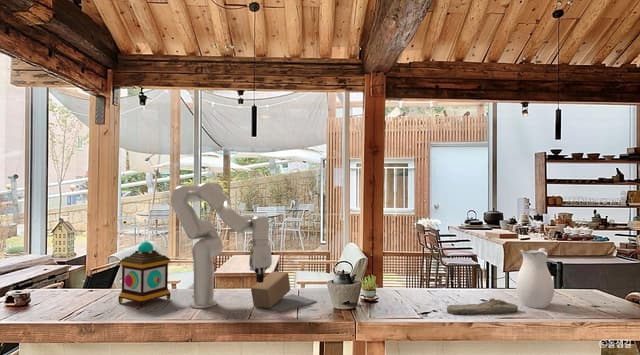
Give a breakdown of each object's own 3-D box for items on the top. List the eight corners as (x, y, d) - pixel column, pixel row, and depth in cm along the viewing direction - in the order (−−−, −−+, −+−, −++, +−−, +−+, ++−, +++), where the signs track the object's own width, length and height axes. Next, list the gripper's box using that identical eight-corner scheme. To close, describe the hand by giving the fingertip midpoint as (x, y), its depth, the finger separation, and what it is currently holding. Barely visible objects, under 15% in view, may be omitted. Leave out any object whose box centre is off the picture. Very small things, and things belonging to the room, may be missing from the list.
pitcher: (545, 312, 194) (545, 253, 195) (509, 304, 207) (509, 248, 207) (564, 303, 210) (564, 248, 210) (529, 296, 223) (529, 244, 223)
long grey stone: (442, 312, 198) (452, 320, 188) (442, 301, 197) (451, 309, 187) (510, 306, 202) (522, 313, 193) (510, 295, 202) (522, 302, 192)
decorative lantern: (140, 310, 192) (141, 245, 193) (113, 303, 202) (114, 241, 203) (174, 299, 209) (175, 240, 210) (148, 294, 219) (149, 237, 220)
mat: (256, 304, 203) (256, 303, 203) (292, 295, 220) (292, 294, 220) (280, 312, 190) (280, 311, 190) (316, 302, 208) (316, 301, 208)
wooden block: (270, 309, 194) (291, 290, 211) (267, 289, 192) (288, 271, 210) (253, 307, 198) (274, 288, 216) (249, 287, 197) (272, 270, 214)
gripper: (251, 245, 186) (251, 286, 185) (277, 242, 196) (277, 280, 196) (242, 243, 191) (241, 283, 191) (268, 240, 202) (267, 278, 201)
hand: (260, 282), depth 193 cm, fingers closed
